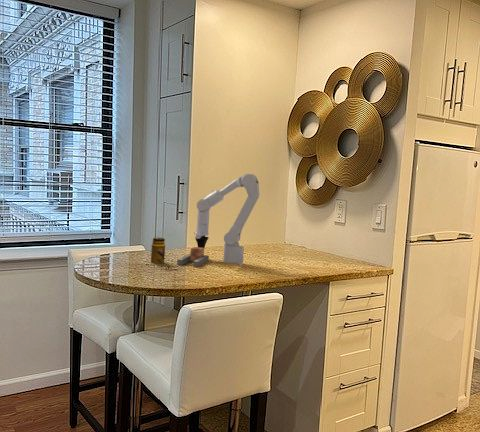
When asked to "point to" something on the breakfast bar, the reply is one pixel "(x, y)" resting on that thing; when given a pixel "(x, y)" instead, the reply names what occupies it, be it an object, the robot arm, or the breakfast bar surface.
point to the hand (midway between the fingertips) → (201, 251)
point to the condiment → (158, 251)
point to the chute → (195, 263)
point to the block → (196, 253)
